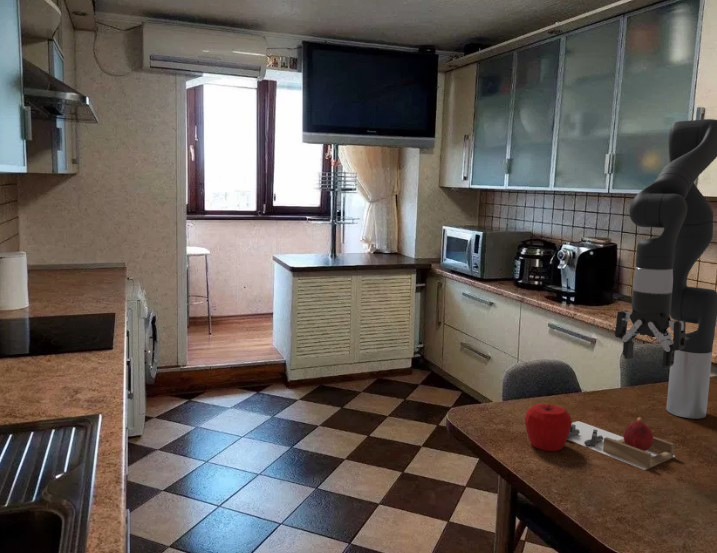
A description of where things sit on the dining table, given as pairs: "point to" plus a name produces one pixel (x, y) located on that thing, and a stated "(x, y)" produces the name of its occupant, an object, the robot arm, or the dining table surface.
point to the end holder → (640, 451)
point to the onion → (638, 435)
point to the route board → (596, 439)
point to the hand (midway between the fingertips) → (647, 363)
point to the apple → (548, 426)
